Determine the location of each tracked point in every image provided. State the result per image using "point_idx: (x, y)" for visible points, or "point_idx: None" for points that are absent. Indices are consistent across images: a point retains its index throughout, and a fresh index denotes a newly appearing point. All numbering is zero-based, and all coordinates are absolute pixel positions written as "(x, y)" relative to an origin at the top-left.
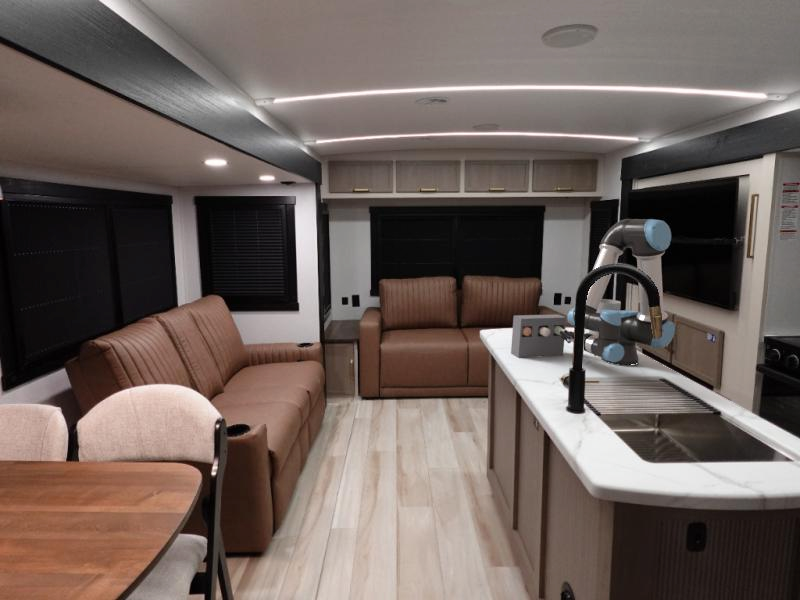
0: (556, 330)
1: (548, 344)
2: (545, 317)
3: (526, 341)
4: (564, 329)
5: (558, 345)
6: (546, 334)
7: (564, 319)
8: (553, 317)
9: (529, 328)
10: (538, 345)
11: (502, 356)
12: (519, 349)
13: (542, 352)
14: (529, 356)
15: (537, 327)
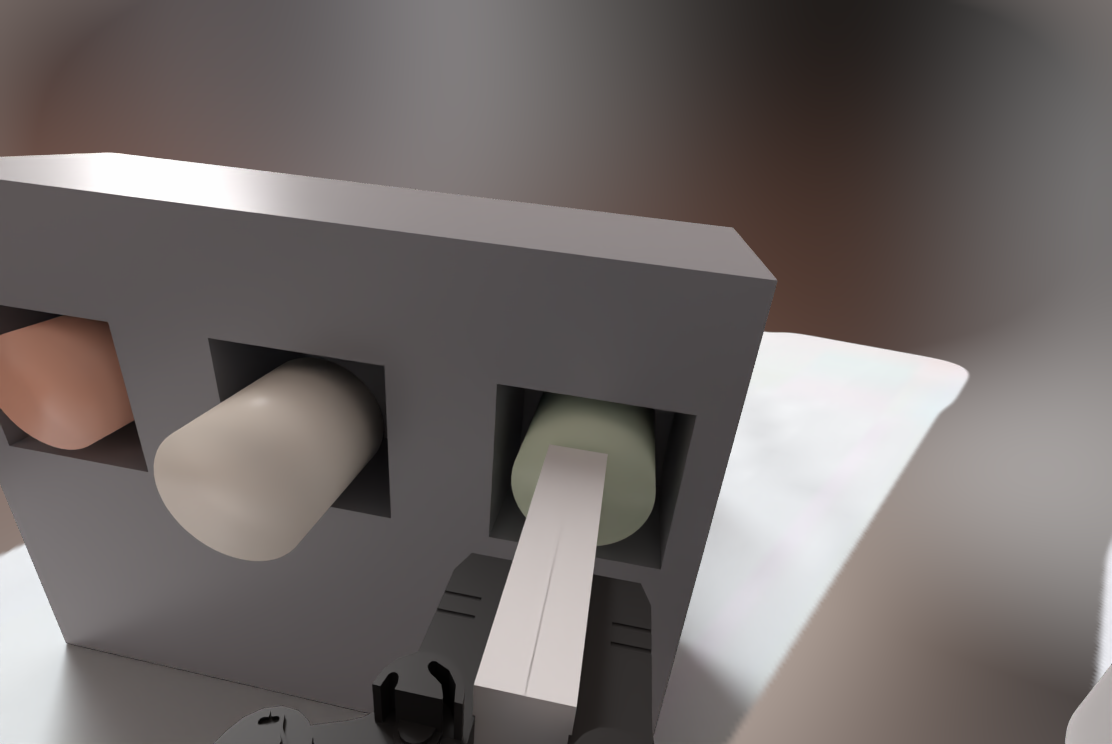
0: (535, 477)
1: (420, 618)
2: (356, 215)
3: (92, 510)
4: (591, 546)
5: None
6: (234, 527)
7: (726, 317)
8: (500, 238)
9: (51, 350)
10: (276, 592)
11: (18, 555)
12: (42, 571)
13: (348, 674)
14: (191, 666)
15: (195, 360)
